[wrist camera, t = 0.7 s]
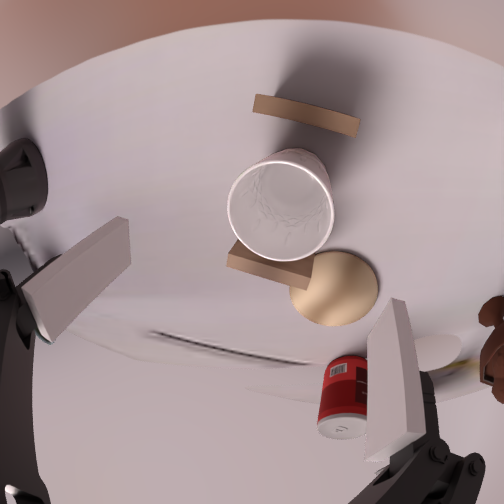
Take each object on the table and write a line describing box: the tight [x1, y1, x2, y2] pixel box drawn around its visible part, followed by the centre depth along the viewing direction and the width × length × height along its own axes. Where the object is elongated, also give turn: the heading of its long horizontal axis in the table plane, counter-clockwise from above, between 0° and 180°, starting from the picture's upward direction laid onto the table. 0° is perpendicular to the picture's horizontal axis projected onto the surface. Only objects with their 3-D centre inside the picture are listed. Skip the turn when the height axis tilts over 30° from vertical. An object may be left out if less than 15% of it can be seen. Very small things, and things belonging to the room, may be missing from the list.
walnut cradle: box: [227, 94, 361, 291], centre depth 26 cm, size 8×16×7 cm, turn 170°
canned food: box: [317, 356, 368, 440], centre depth 36 cm, size 8×8×11 cm
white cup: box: [227, 148, 334, 261], centre depth 24 cm, size 8×8×10 cm
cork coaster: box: [290, 251, 378, 326], centre depth 34 cm, size 11×11×1 cm
